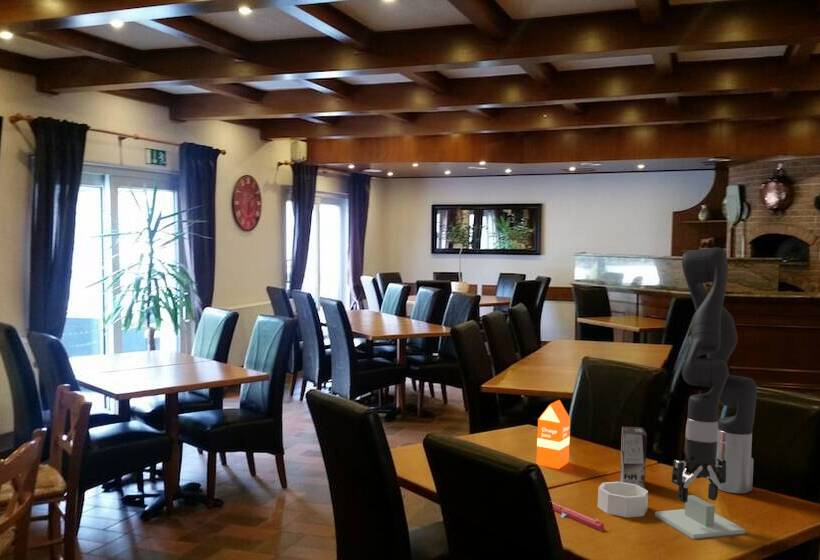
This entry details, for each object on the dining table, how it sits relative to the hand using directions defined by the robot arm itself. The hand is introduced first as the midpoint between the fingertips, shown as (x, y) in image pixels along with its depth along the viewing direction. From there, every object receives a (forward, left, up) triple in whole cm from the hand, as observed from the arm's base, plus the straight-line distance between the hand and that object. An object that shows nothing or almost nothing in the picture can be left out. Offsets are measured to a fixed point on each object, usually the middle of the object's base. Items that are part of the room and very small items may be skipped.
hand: (697, 500), depth 182 cm
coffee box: (-3, -32, -7) cm, 33 cm away
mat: (-1, 0, -6) cm, 6 cm away
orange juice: (+11, -55, -7) cm, 56 cm away
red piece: (+30, -14, -7) cm, 33 cm away
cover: (-1, 0, -6) cm, 6 cm away
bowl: (+12, -14, -6) cm, 20 cm away
